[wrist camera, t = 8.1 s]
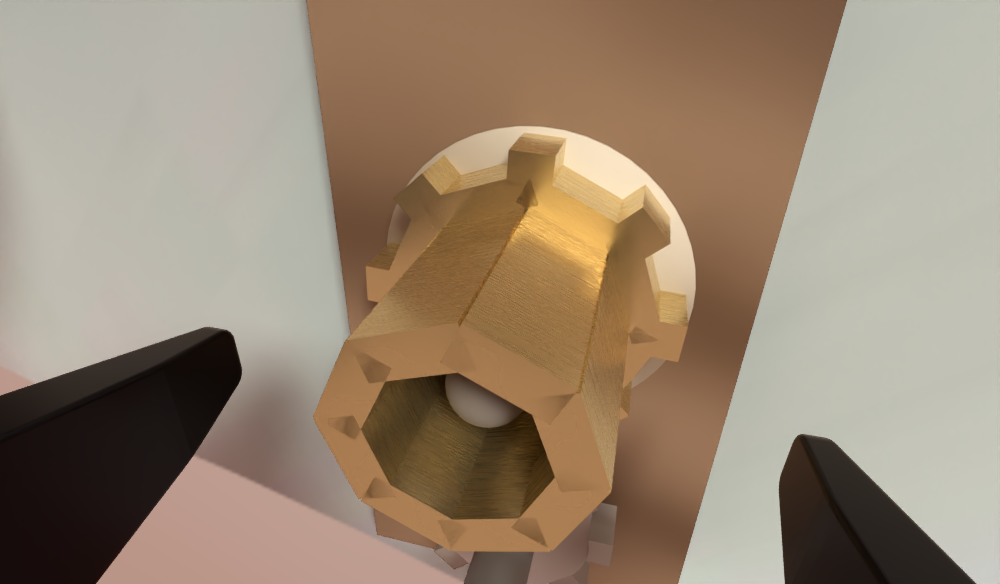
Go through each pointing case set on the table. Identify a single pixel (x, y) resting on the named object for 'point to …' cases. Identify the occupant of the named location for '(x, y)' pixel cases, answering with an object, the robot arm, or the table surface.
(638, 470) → the board
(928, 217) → the table surface
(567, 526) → the brass gear
